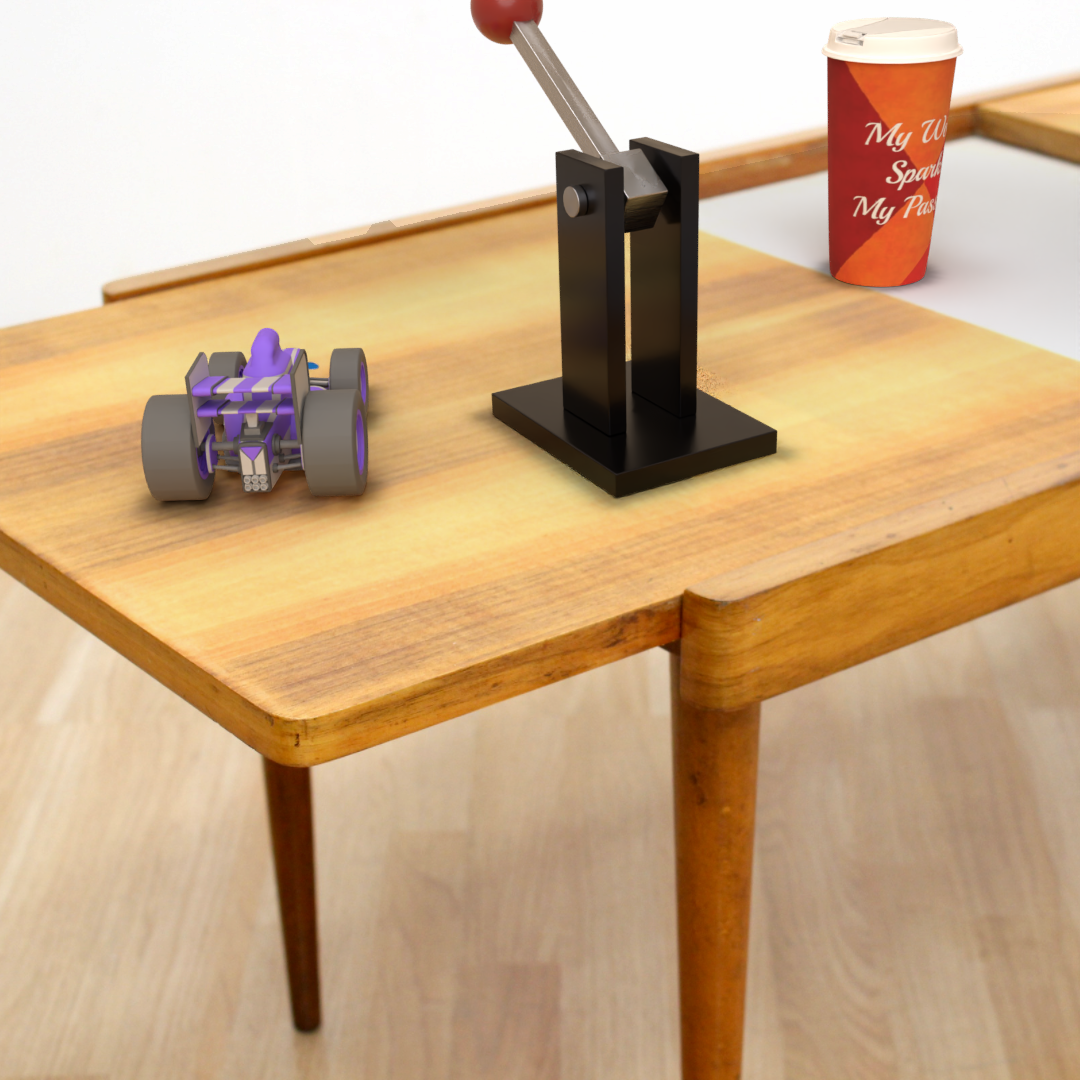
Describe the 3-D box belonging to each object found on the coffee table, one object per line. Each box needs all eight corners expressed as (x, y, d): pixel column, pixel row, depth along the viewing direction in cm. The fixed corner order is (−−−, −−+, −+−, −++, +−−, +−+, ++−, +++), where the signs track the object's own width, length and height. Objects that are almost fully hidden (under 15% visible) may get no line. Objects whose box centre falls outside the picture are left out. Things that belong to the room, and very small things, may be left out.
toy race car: (392, 390, 83) (382, 272, 80) (361, 513, 69) (347, 376, 66) (214, 396, 83) (198, 278, 80) (149, 519, 70) (126, 383, 67)
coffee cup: (876, 301, 93) (893, 42, 86) (784, 269, 99) (793, 26, 93) (973, 274, 97) (997, 25, 90) (879, 246, 103) (895, 10, 97)
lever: (452, 16, 78) (466, -45, 75) (515, 8, 79) (531, -52, 77) (596, 248, 71) (618, 190, 68) (662, 235, 73) (686, 178, 70)
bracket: (492, 414, 79) (477, 142, 73) (640, 378, 83) (638, 117, 77) (616, 498, 70) (611, 194, 64) (777, 453, 74) (787, 162, 67)
